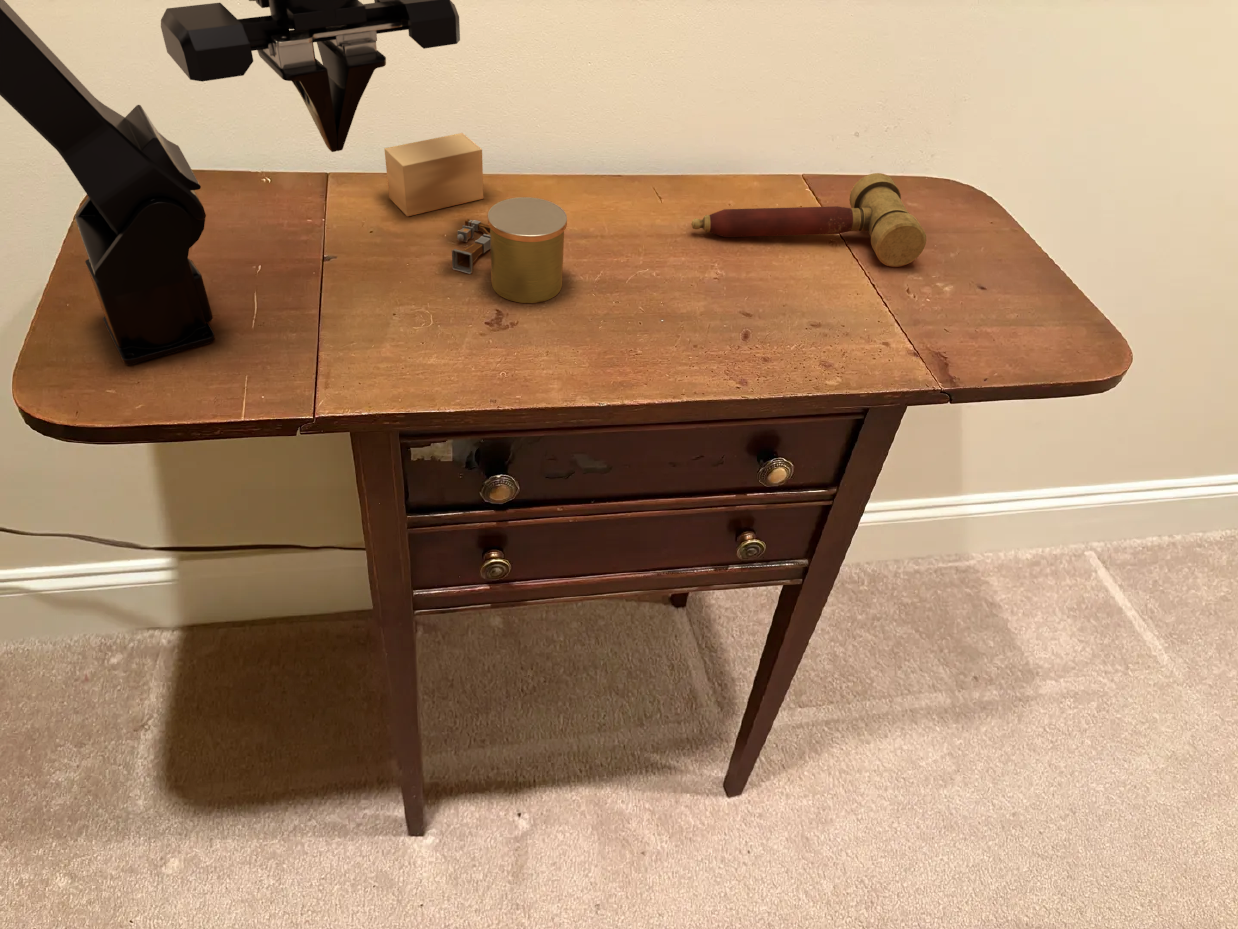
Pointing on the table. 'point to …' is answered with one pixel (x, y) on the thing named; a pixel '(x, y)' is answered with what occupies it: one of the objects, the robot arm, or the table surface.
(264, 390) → the table surface
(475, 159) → the birch block
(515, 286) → the enamel tin
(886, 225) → the gavel
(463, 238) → the wooden lantern post
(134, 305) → the robot arm
